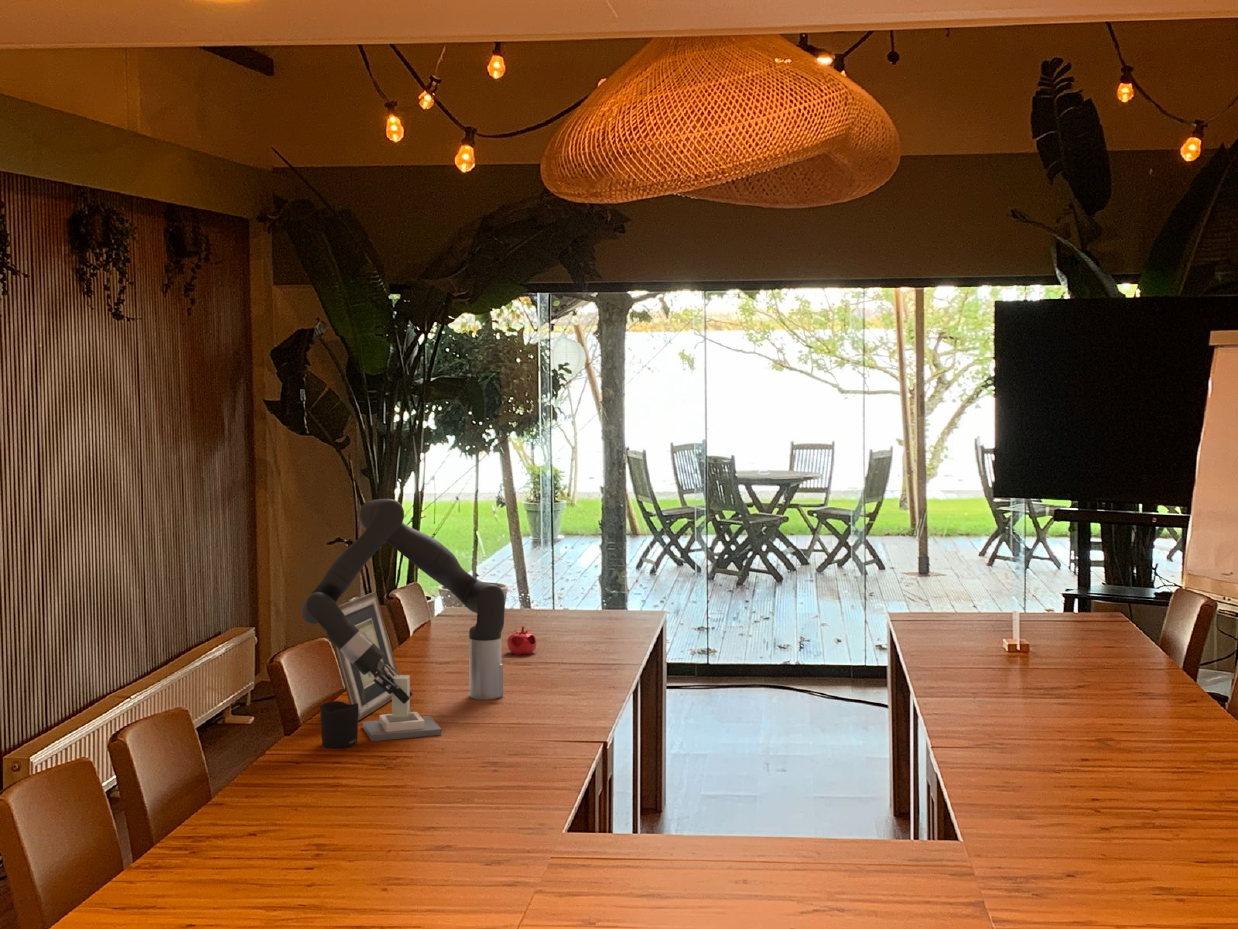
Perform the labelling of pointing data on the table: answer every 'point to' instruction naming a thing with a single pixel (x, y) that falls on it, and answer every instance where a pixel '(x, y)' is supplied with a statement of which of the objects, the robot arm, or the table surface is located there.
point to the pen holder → (339, 724)
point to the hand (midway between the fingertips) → (408, 698)
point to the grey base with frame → (401, 727)
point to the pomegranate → (521, 642)
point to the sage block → (397, 706)
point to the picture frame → (371, 624)
